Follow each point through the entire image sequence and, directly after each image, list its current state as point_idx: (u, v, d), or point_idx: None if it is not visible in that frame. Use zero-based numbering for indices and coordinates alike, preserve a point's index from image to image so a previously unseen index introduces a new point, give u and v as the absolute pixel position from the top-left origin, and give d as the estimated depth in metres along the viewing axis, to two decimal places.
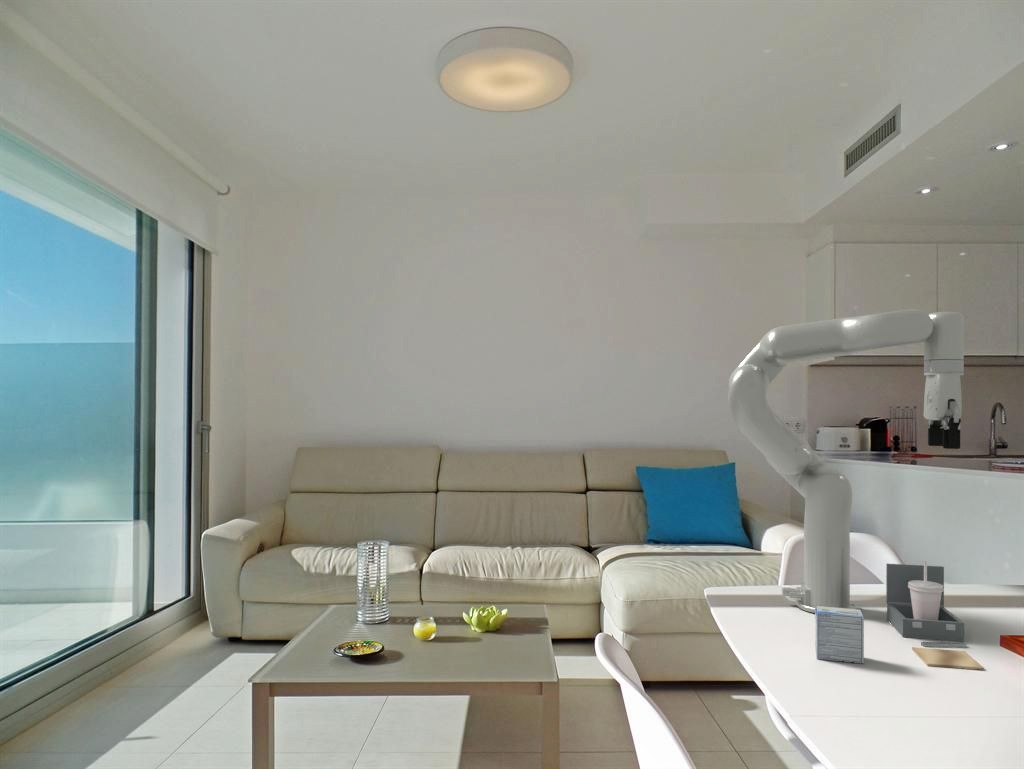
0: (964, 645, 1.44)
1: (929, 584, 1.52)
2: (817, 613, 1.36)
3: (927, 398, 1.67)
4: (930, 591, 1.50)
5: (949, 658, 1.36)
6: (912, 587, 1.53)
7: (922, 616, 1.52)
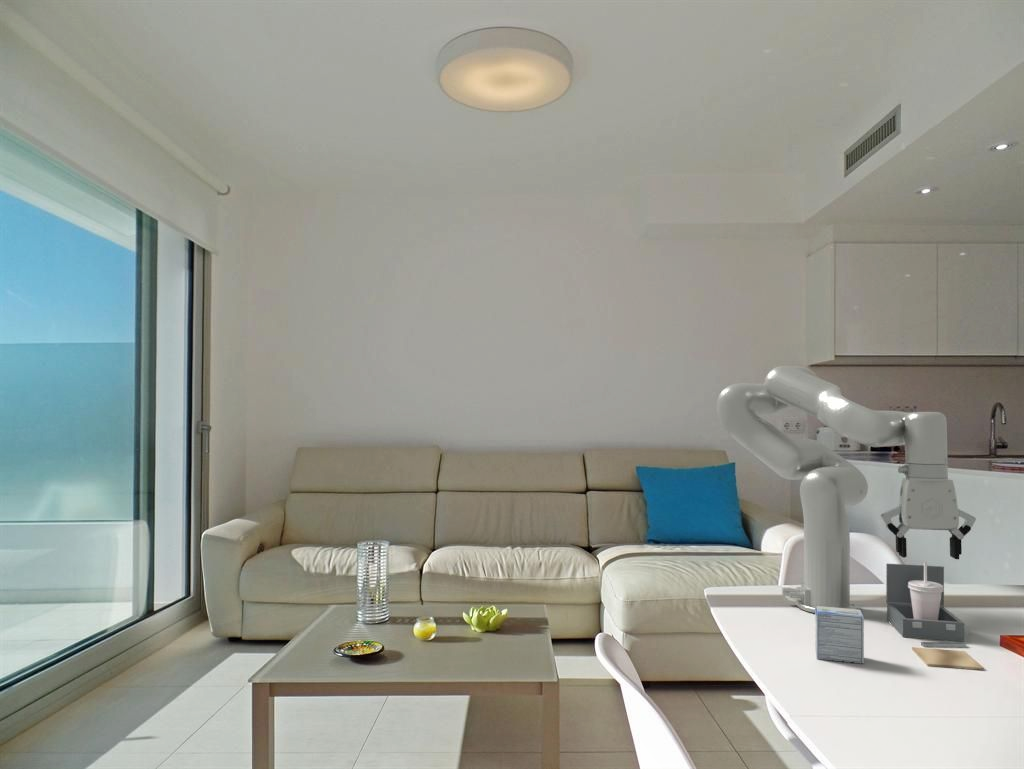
0: (964, 645, 1.44)
1: (929, 584, 1.52)
2: (817, 613, 1.36)
3: (923, 506, 1.51)
4: (930, 591, 1.50)
5: (949, 658, 1.36)
6: (912, 587, 1.53)
7: (922, 616, 1.52)
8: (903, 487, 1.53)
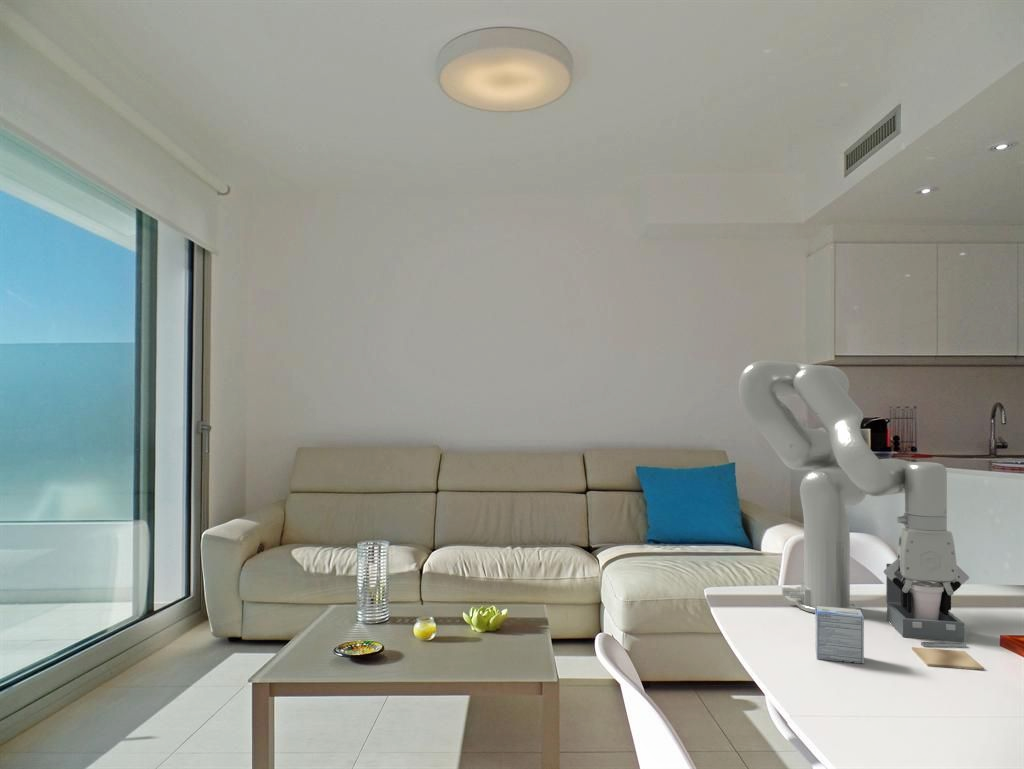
0: (964, 645, 1.44)
1: (929, 584, 1.52)
2: (817, 613, 1.36)
3: (921, 557, 1.51)
4: (930, 591, 1.50)
5: (949, 658, 1.36)
6: (912, 587, 1.53)
7: (922, 616, 1.52)
8: (902, 538, 1.53)
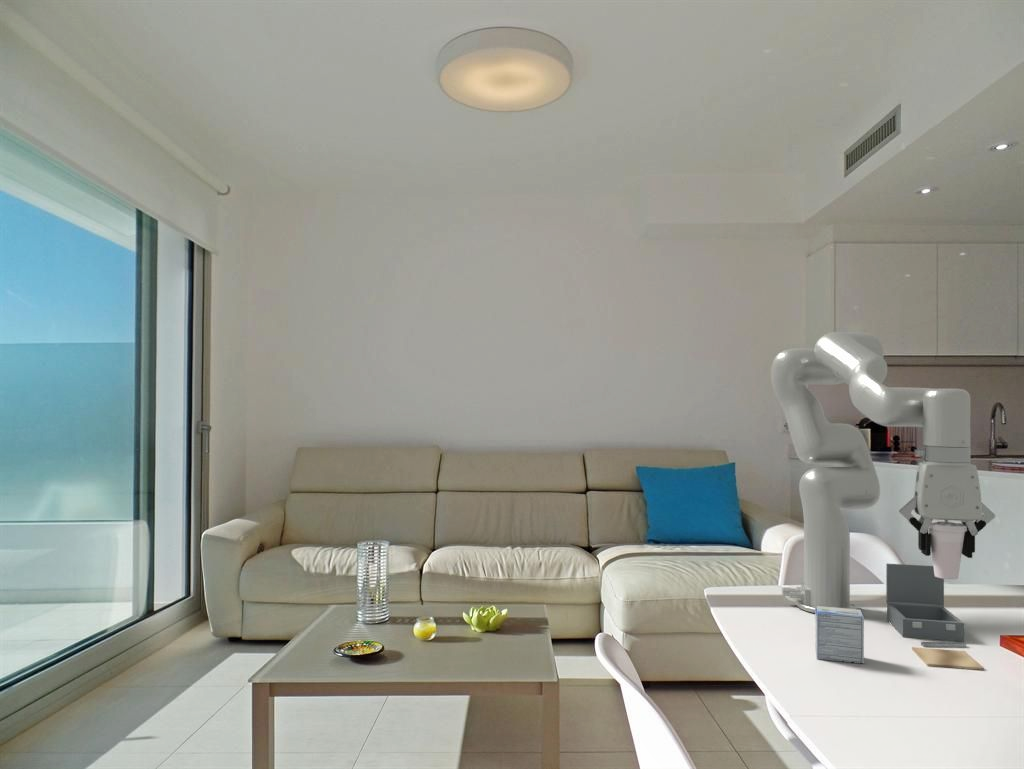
0: (964, 645, 1.44)
1: (951, 523, 1.36)
2: (817, 613, 1.36)
3: (942, 493, 1.35)
4: (952, 530, 1.34)
5: (949, 658, 1.36)
6: (932, 527, 1.37)
7: (942, 559, 1.36)
8: (920, 472, 1.37)
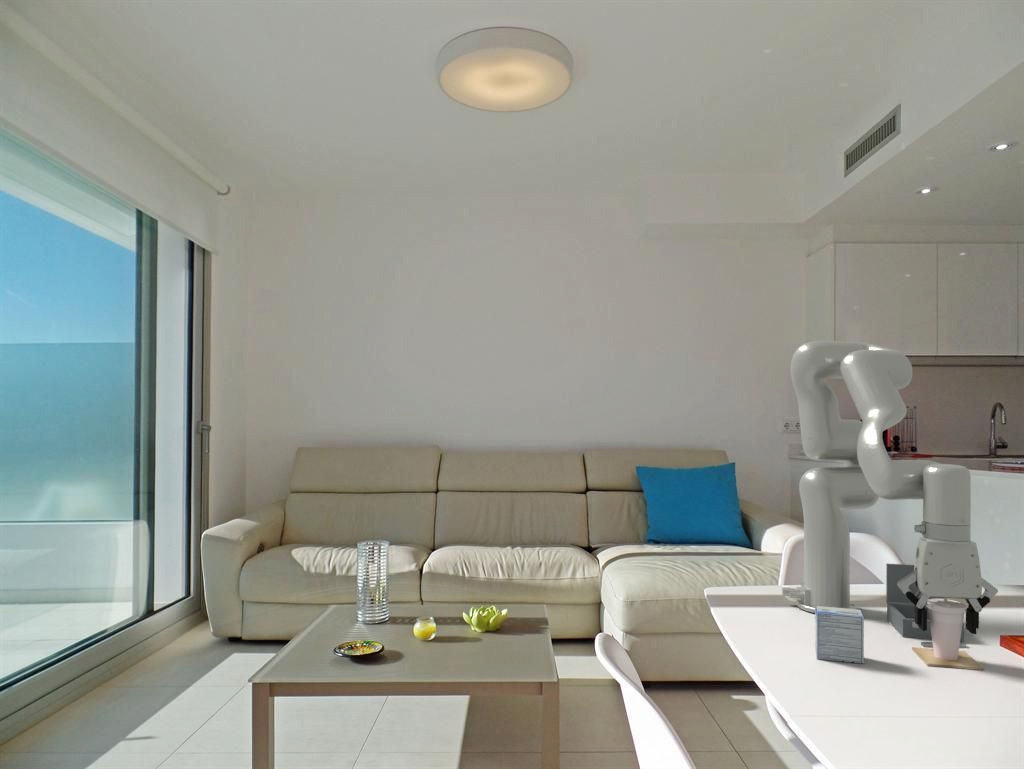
0: (964, 645, 1.44)
1: (950, 604, 1.36)
2: (817, 613, 1.36)
3: (942, 571, 1.35)
4: (952, 612, 1.34)
5: None
6: (931, 607, 1.36)
7: (942, 639, 1.35)
8: (920, 549, 1.37)
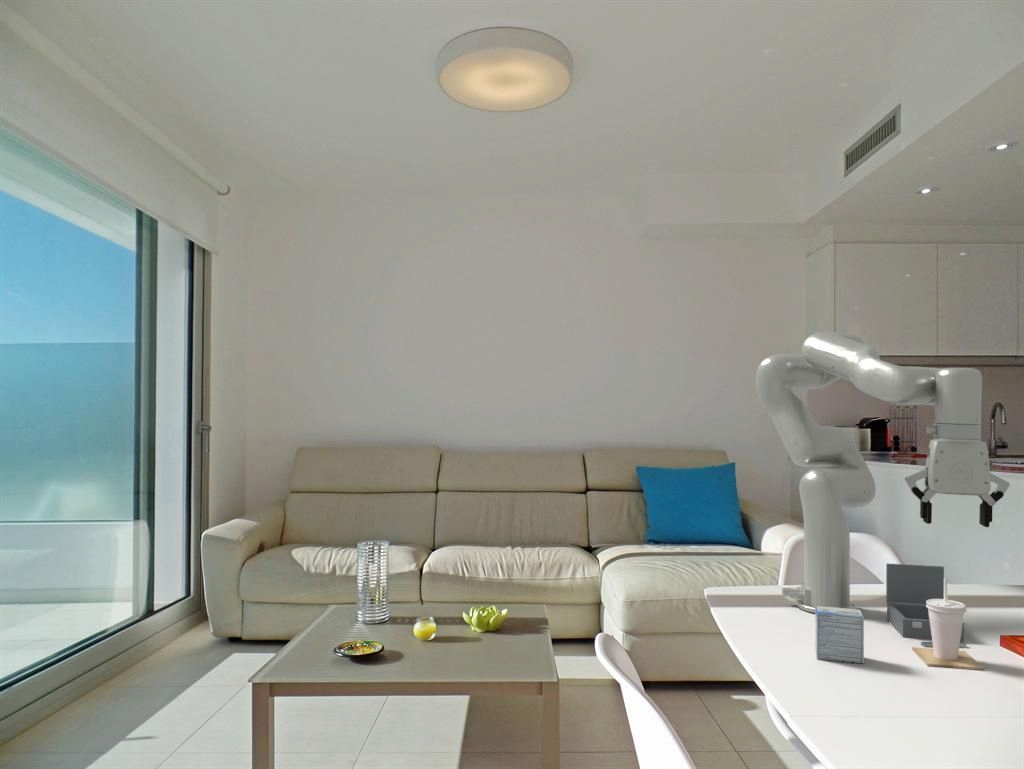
0: (964, 645, 1.44)
1: (950, 603, 1.36)
2: (817, 613, 1.36)
3: (952, 469, 1.40)
4: (951, 612, 1.34)
5: None
6: (931, 607, 1.37)
7: (942, 639, 1.36)
8: (931, 448, 1.42)
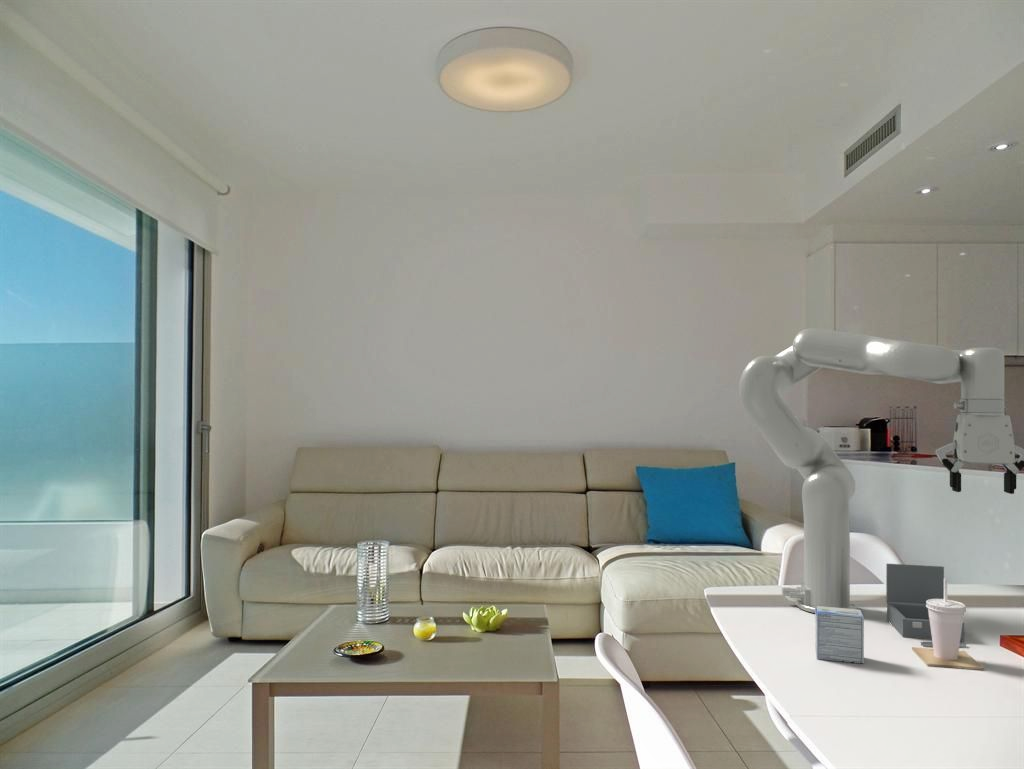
0: (964, 645, 1.44)
1: (950, 603, 1.36)
2: (817, 613, 1.36)
3: (979, 440, 1.52)
4: (951, 612, 1.34)
5: None
6: (931, 607, 1.37)
7: (942, 639, 1.36)
8: (959, 422, 1.54)
